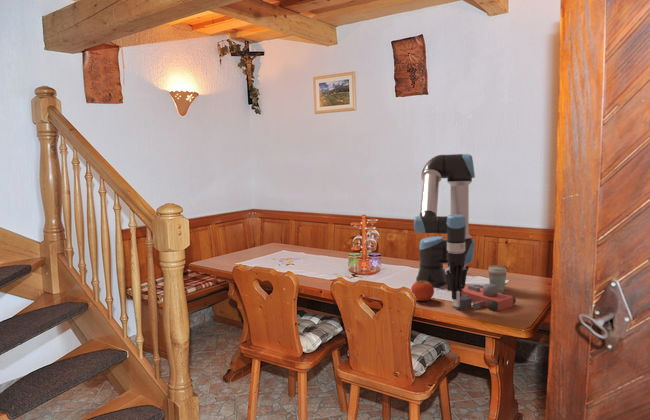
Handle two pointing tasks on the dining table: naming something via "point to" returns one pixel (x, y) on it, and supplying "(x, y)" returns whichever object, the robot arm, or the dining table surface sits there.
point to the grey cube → (464, 303)
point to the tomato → (422, 290)
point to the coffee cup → (498, 276)
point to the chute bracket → (478, 304)
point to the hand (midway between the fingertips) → (456, 305)
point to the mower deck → (489, 296)
